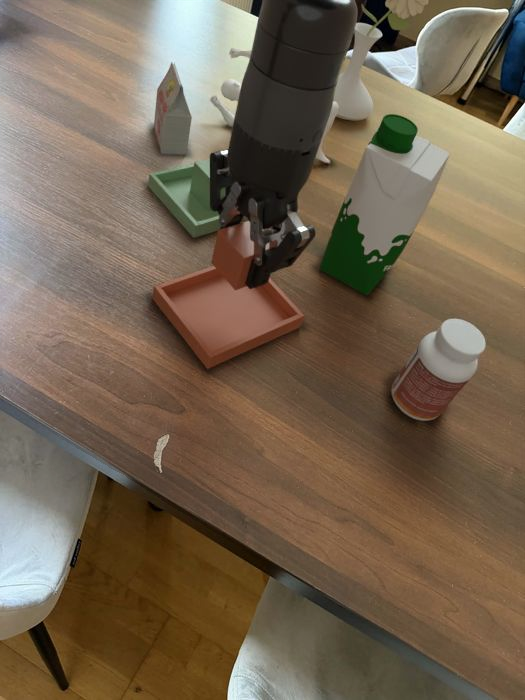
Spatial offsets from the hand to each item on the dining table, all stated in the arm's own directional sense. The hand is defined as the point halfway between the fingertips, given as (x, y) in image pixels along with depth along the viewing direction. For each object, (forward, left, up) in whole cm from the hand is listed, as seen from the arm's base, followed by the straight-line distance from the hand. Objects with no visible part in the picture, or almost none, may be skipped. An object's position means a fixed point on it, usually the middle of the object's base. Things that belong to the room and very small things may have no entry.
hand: (240, 268), depth 61 cm
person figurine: (+27, +27, -7) cm, 39 cm away
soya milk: (+20, -1, -7) cm, 21 cm away
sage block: (+10, +18, -7) cm, 22 cm away
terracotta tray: (0, 0, -7) cm, 7 cm away
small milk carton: (+12, +32, -7) cm, 35 cm away
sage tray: (+10, +18, -7) cm, 22 cm away
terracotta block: (0, 0, 0) cm, 0 cm away
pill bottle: (+12, -20, -7) cm, 24 cm away
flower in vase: (+48, +31, -7) cm, 58 cm away
